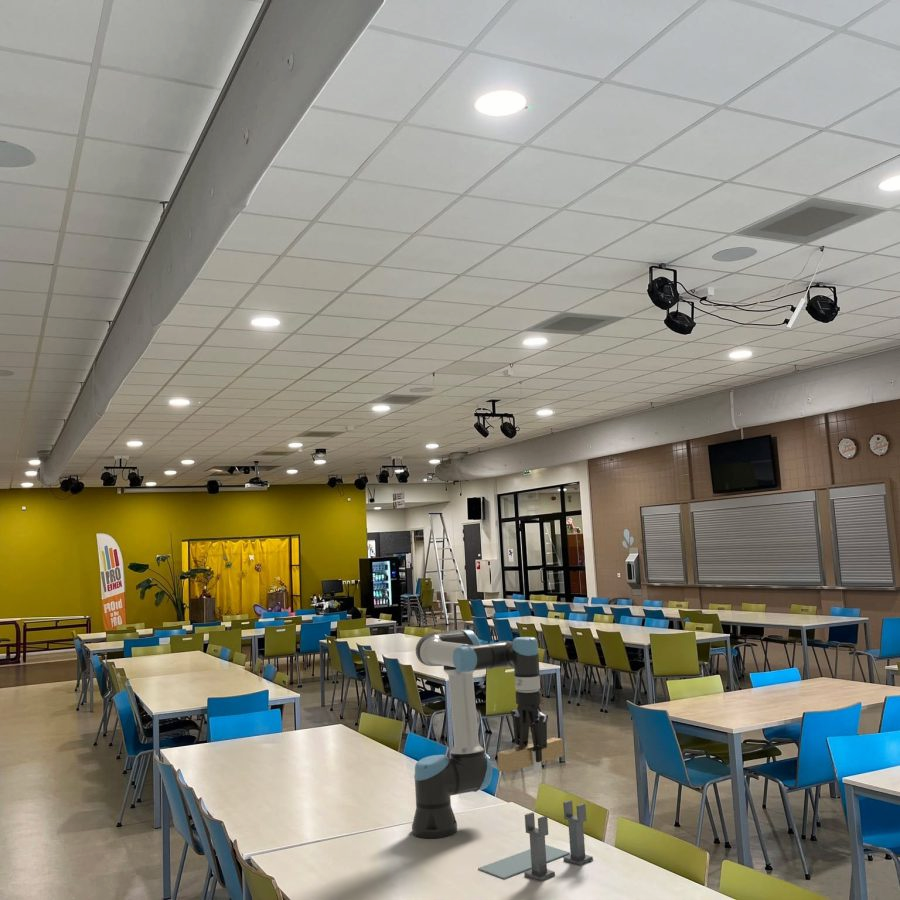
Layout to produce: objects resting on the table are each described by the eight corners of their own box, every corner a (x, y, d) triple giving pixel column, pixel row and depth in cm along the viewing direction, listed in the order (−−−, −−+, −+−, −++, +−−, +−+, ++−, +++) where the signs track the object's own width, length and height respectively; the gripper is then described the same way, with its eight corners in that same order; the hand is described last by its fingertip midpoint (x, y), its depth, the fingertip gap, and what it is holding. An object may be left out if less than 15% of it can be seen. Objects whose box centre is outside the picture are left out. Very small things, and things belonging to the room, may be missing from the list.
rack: (524, 876, 229) (520, 816, 231) (577, 855, 242) (573, 798, 245) (539, 881, 224) (535, 820, 226) (592, 860, 238) (588, 802, 240)
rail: (498, 770, 235) (497, 752, 236) (555, 754, 251) (554, 737, 251) (506, 772, 232) (505, 754, 233) (563, 756, 248) (562, 739, 249)
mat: (478, 869, 235) (478, 868, 235) (543, 845, 252) (543, 844, 253) (504, 879, 227) (504, 877, 227) (570, 853, 244) (570, 852, 244)
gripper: (499, 689, 248) (503, 769, 245) (539, 695, 235) (543, 779, 233) (517, 685, 253) (521, 764, 250) (556, 691, 240) (561, 774, 237)
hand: (532, 771), depth 241 cm, fingers closed on rail, 3 cm apart
